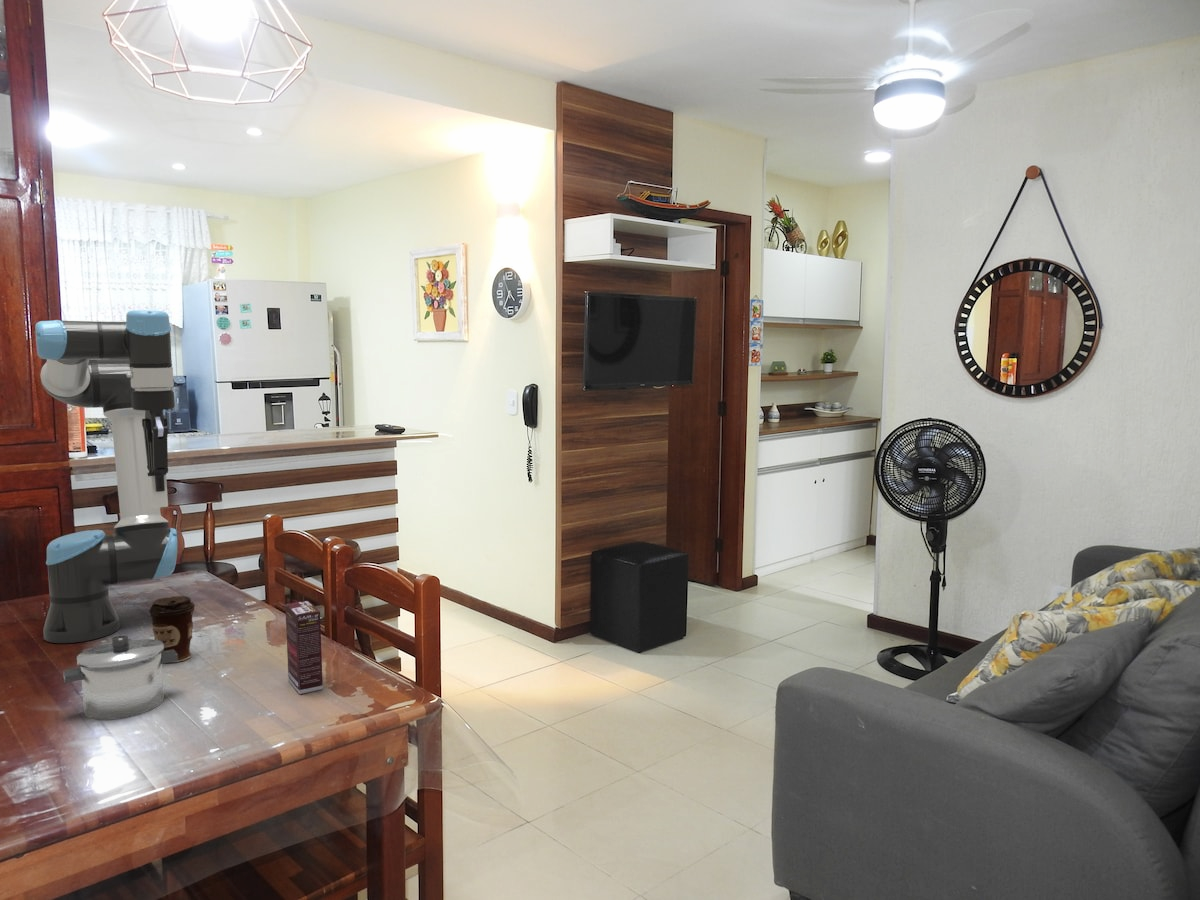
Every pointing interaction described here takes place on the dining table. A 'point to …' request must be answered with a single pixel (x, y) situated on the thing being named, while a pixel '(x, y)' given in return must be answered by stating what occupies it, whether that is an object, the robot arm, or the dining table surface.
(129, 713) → the pot
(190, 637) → the coffee cup
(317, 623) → the supplement box
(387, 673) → the dining table surface
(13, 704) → the dining table surface
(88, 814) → the dining table surface
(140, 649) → the lid
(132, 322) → the robot arm
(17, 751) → the dining table surface
